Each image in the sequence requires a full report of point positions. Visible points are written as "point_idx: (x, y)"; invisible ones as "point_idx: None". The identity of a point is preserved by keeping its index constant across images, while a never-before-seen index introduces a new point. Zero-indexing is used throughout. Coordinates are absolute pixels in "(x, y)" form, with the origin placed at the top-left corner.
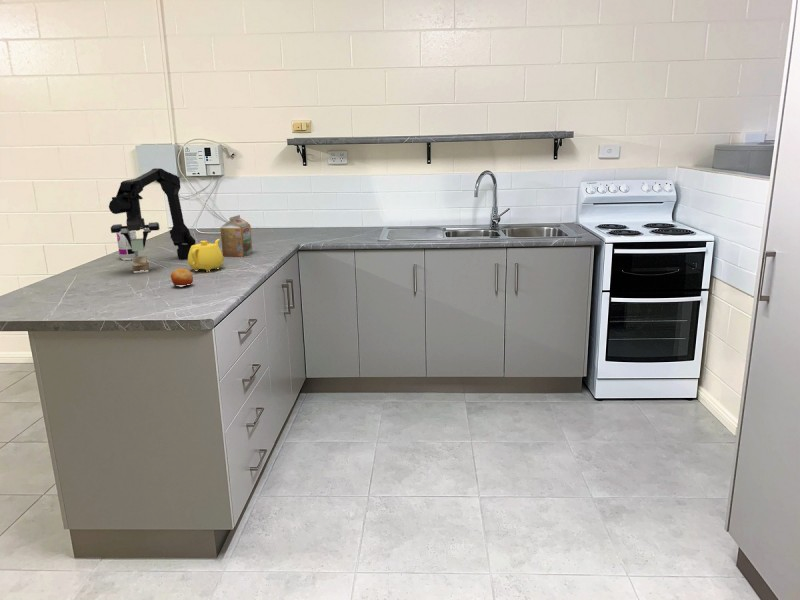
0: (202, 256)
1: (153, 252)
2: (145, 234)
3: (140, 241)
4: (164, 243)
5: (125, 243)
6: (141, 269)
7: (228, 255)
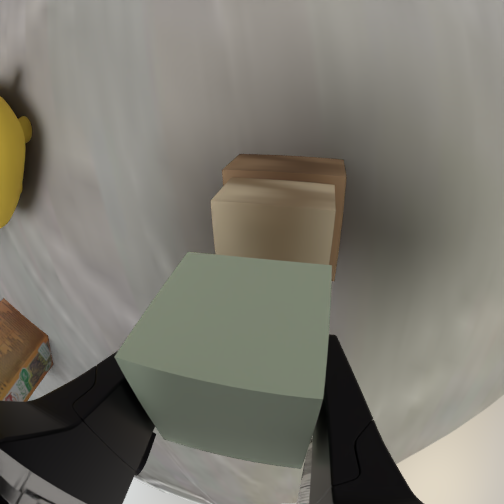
0: None
1: (267, 467)
2: (28, 412)
3: (154, 346)
4: (251, 492)
5: None
6: (279, 162)
7: (31, 328)
